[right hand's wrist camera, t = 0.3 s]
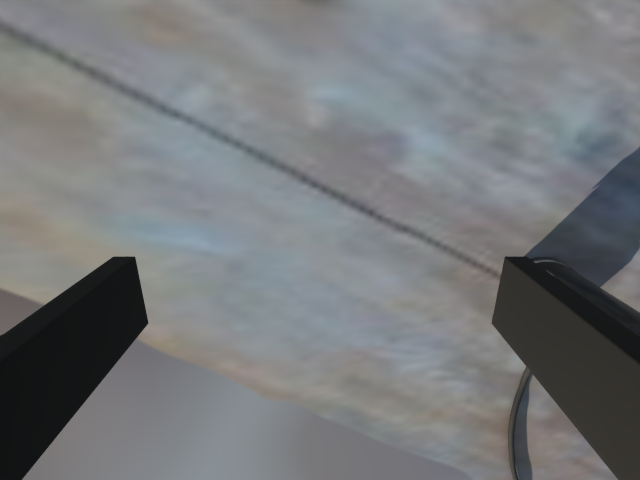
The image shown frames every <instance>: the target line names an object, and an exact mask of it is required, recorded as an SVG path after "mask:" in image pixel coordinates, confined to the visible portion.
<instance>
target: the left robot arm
mask: <svg viewBox="0 0 640 480" xmlns="http://www.w3.org/2000/svg"><path fill="white" fill-rule="evenodd" d="M532 261H533V262H535V263H536V264H537V265H539V266H540V267H542V268H543V269H545V270H546V271H547V272H549V273H550V274H552V275H553V276H554V277H556V278H557V279H559V280H560V281H562V282H563V283H564V284H566V285H567V286H569V287H570V288H571V289H573V290H574V291H576V292H577V293H579V294H580V295H581V296H583V297H584V298H586V299H587V300H589V301H590V302H591V303H593V304H594V305H596V306H597V307H598V308H600V309H601V310H603V311H604V312H606V313H607V314H608V315H610V316H611V317H613V318H614V319H615V320H617V321H618V322H620V323H621V324H623V325H624V326H625V327H627V328H628V329H630V330H632V331H634V332H636V333H638V334H640V313H639V312H638V311H636V310H635V309H633V308H632V307H630V306H628V305H627V304H625V303H624V302H622V301H620V300H619V299H617V298H616V297H614V296H613V295H611V294H609V293H608V292H606V291H605V290H603V289H601V288H600V287H598V286H597V285H595V284H594V283H592V282H590V281H589V280H587V279H586V278H584V277H582V276H581V275H579V274H578V273H577V272H575V271H574V270H572V269H571V268H569V267H568V266H567V265H565V264H563V263H562V262H560V261H558V260H555V259H551V258H536V259H532ZM530 374H531V371H530V370H529V369H528V367H527V366H526V369H525V371H524V373H523V376H522V379H521V381H520V385H519V388H518V390H517V393H516V396H515V399H514V402H513V406H512V410H511V415H510V421H509V430H508V445H509V459H510V467H511V472H512V476H513V479H514V480H519V479H518V476H517V472H516V467H515V454H514V428H515V421H516V416H517V411H518V408H519V404H520V401H521V398H522V395H523V392H524V389H525V386H526V383H527V381H528V378H529V375H530Z"/></svg>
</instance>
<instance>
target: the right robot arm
mask: <svg viewBox="0 0 640 480" xmlns="http://www.w3.org/2000/svg"><path fill="white" fill-rule="evenodd" d="M147 324H148V319H147V314H146V309H145V304H144V299H143V294H142V289H141V284H140V279H139V274H138V269H137V264H136V259H135V257H112V258H111V259H110V260H108V261H107V262H105V263H104V264H103V265H101V266H100V267H98V268H97V269H95V270H94V271H93V272H91V273H90V274H88V275H87V276H86V277H84V278H83V279H81V280H80V281H78V282H77V283H76V284H74V285H73V286H71V287H70V288H69V289H67V290H66V291H64V292H63V293H61V294H60V295H59V296H57V297H56V298H54V299H53V300H51V301H50V302H49V303H47V304H46V305H44V306H43V307H42V308H40V309H39V310H37V311H36V312H35V313H33V314H32V315H30V316H29V317H27V318H26V319H25V320H23V321H22V322H20V323H19V324H18V325H16V326H15V327H13V328H12V329H11V330H9V331H8V332H6V333H5V334H3V335H1V336H0V480H22V479H23V477H24V476H25V475H26V474H27V473H28V471H29V470H30V469H31V468H32V466H33V465H34V464H35V463H36V461H37V460H38V459H39V458H40V456H41V455H42V454H43V453H44V452H45V450H46V449H47V448H48V447H49V445H50V444H51V443H52V442H53V440H54V439H55V438H56V437H57V435H58V434H59V433H60V432H61V431H62V429H63V428H64V427H65V426H66V424H67V423H68V422H69V421H70V419H71V418H72V417H73V416H74V414H75V413H76V412H77V411H78V410H79V408H80V407H81V406H82V405H83V403H84V402H85V401H86V400H87V398H88V397H89V396H90V395H91V393H92V392H93V391H94V390H95V388H96V387H97V386H98V385H99V384H100V382H101V381H102V380H103V379H104V377H105V376H106V375H107V374H108V372H109V371H110V370H111V369H112V367H113V366H114V365H115V364H116V363H117V361H118V360H119V359H120V358H121V356H122V355H123V354H124V353H125V351H126V350H127V349H128V348H129V346H130V345H131V344H132V343H133V341H134V340H135V339H136V338H137V337H138V335H139V334H140V333H141V332H142V330H143V329H144V328H145V327H146V325H147ZM492 324H493V325H494V327H495V328H496V329H497V330H498V332H499V333H500V334H501V335H502V337H503V338H504V339H505V340H506V342H507V343H508V344H509V345H510V346H511V348H512V349H513V350H514V351H515V353H516V354H517V355H518V356H519V358H520V359H521V360H522V361H523V363H524V364H525V365H526V366H527V367H528V369H529V370H530V371H531V372H532V374H533V375H534V376H535V377H536V379H537V380H538V381H539V382H540V384H541V385H542V386H543V387H544V388H545V390H546V391H547V392H548V393H549V395H550V396H551V397H552V398H553V400H554V401H555V402H556V403H557V405H558V406H559V407H560V408H561V410H562V411H563V412H564V413H565V414H566V416H567V417H568V418H569V419H570V421H571V422H572V423H573V424H574V426H575V427H576V428H577V429H578V431H579V432H580V433H581V434H582V435H583V437H584V438H585V439H586V440H587V442H588V443H589V444H590V445H591V447H592V448H593V449H594V450H595V452H596V453H597V454H598V455H599V456H600V458H601V459H602V460H603V461H604V463H605V464H606V465H607V466H608V468H609V469H610V470H611V471H612V473H613V474H614V475H615V476H616V477H617V479H618V480H640V334H638V333H636V332H634V331H632V330H630V329H628V328H627V327H625V326H624V325H623V324H621V323H620V322H618V321H617V320H615V319H614V318H613V317H611V316H610V315H608V314H607V313H606V312H604V311H603V310H601V309H600V308H598V307H597V306H596V305H594V304H593V303H591V302H590V301H589V300H587V299H586V298H584V297H583V296H581V295H580V294H579V293H577V292H576V291H574V290H573V289H571V288H570V287H569V286H567V285H566V284H564V283H563V282H562V281H560V280H559V279H557V278H556V277H554V276H553V275H552V274H550V273H549V272H547V271H546V270H545V269H543V268H542V267H540V266H539V265H537V264H536V263H535V262H533V261H532V260H530V259H529V258H528V257H505V259H504V264H503V269H502V274H501V279H500V284H499V289H498V294H497V299H496V304H495V309H494V314H493V319H492Z"/></svg>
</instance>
